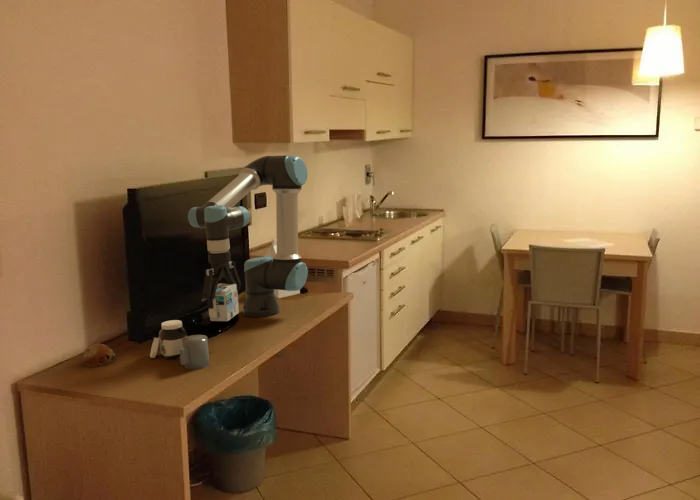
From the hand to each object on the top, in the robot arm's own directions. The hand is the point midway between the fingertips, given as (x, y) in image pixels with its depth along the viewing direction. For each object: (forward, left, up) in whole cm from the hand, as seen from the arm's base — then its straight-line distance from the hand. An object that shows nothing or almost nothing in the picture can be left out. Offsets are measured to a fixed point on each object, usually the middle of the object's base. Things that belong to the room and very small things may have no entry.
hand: (224, 312), depth 227 cm
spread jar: (+15, -13, -13) cm, 24 cm away
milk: (-72, -23, -13) cm, 76 cm away
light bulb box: (0, 0, -2) cm, 2 cm away
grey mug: (+20, +2, -13) cm, 24 cm away
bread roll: (+28, -32, -13) cm, 44 cm away
